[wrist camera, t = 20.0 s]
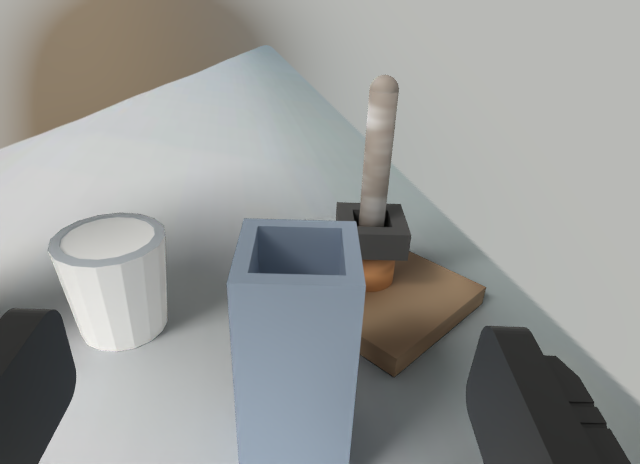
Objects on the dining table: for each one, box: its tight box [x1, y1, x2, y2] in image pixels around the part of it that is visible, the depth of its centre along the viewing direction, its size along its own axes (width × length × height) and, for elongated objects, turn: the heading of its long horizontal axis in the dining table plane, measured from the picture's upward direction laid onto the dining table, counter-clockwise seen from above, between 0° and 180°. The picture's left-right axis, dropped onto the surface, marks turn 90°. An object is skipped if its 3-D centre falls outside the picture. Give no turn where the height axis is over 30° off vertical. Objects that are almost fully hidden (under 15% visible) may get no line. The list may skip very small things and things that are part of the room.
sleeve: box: [227, 218, 366, 464], centre depth 24 cm, size 5×5×12 cm
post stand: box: [359, 75, 486, 377], centre depth 35 cm, size 14×11×16 cm
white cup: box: [48, 213, 168, 352], centre depth 33 cm, size 7×7×7 cm
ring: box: [336, 202, 411, 261], centre depth 36 cm, size 5×5×2 cm
